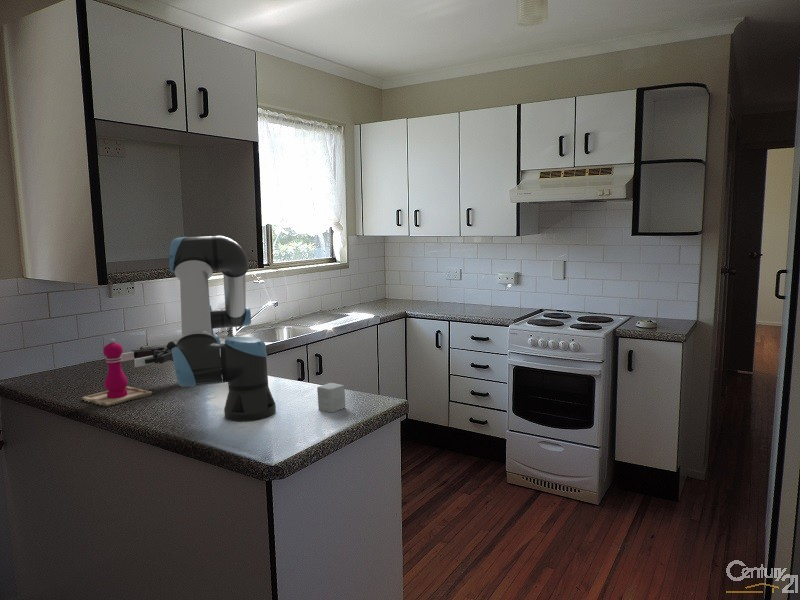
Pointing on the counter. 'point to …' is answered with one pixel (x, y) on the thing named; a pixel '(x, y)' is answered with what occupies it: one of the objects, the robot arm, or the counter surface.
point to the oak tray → (105, 401)
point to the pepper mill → (115, 371)
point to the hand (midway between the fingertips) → (124, 361)
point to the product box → (331, 397)
